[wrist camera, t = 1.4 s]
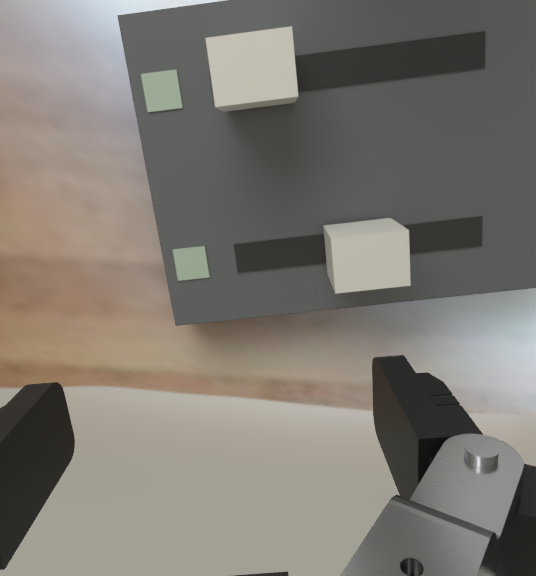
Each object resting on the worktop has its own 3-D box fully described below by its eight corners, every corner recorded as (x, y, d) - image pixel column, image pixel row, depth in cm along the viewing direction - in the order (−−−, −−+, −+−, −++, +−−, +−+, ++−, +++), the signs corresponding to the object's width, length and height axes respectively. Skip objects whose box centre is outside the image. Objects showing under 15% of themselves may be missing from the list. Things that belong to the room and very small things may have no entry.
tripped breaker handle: (390, 217, 28) (408, 230, 24) (392, 266, 29) (410, 285, 25) (323, 225, 28) (330, 238, 25) (327, 273, 29) (335, 293, 25)
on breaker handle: (289, 43, 25) (291, 26, 22) (294, 102, 26) (298, 96, 23) (215, 53, 26) (205, 37, 22) (223, 111, 27) (215, 107, 23)
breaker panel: (543, -28, 27) (575, -48, 24) (529, 272, 33) (554, 286, 30) (133, 28, 28) (116, 15, 25) (184, 309, 34) (175, 326, 31)
